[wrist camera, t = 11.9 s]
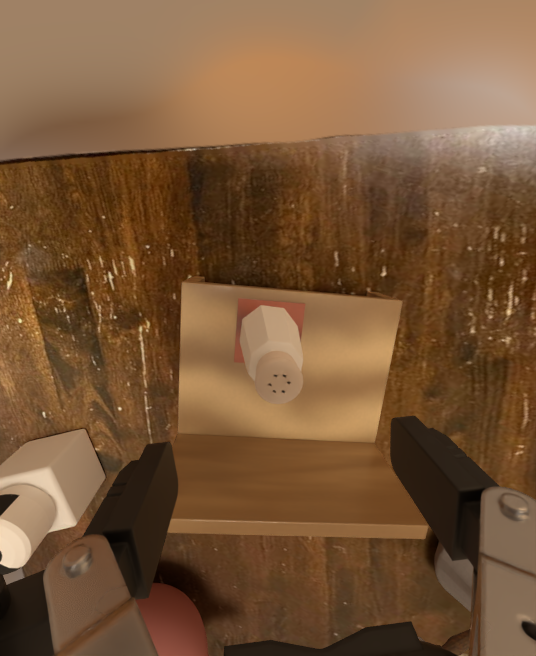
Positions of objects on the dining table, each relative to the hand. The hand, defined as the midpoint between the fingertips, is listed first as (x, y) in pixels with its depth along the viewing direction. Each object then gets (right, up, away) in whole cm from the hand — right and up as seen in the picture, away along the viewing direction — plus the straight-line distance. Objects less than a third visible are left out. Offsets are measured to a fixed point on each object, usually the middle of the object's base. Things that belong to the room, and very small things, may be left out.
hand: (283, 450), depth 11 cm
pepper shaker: (0, +4, +17) cm, 18 cm away
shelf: (+1, +1, +24) cm, 24 cm away
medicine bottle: (-24, -11, +26) cm, 37 cm away
